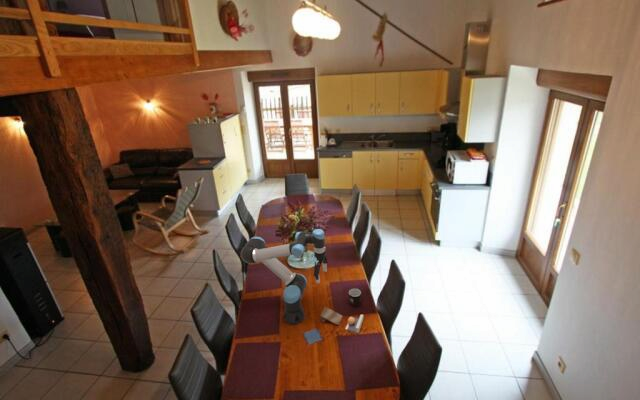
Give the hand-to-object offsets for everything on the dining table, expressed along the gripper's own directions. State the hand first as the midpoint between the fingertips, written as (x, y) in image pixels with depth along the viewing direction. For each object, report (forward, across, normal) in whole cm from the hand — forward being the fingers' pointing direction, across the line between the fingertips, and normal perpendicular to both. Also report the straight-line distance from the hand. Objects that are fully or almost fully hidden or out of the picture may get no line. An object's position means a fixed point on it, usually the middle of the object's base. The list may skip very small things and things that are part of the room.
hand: (321, 276), depth 234 cm
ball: (+24, -10, -24) cm, 36 cm away
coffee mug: (+27, +9, -22) cm, 36 cm away
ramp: (+27, -10, -10) cm, 30 cm away
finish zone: (+27, -10, -26) cm, 39 cm away
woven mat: (+28, -29, -3) cm, 40 cm away
